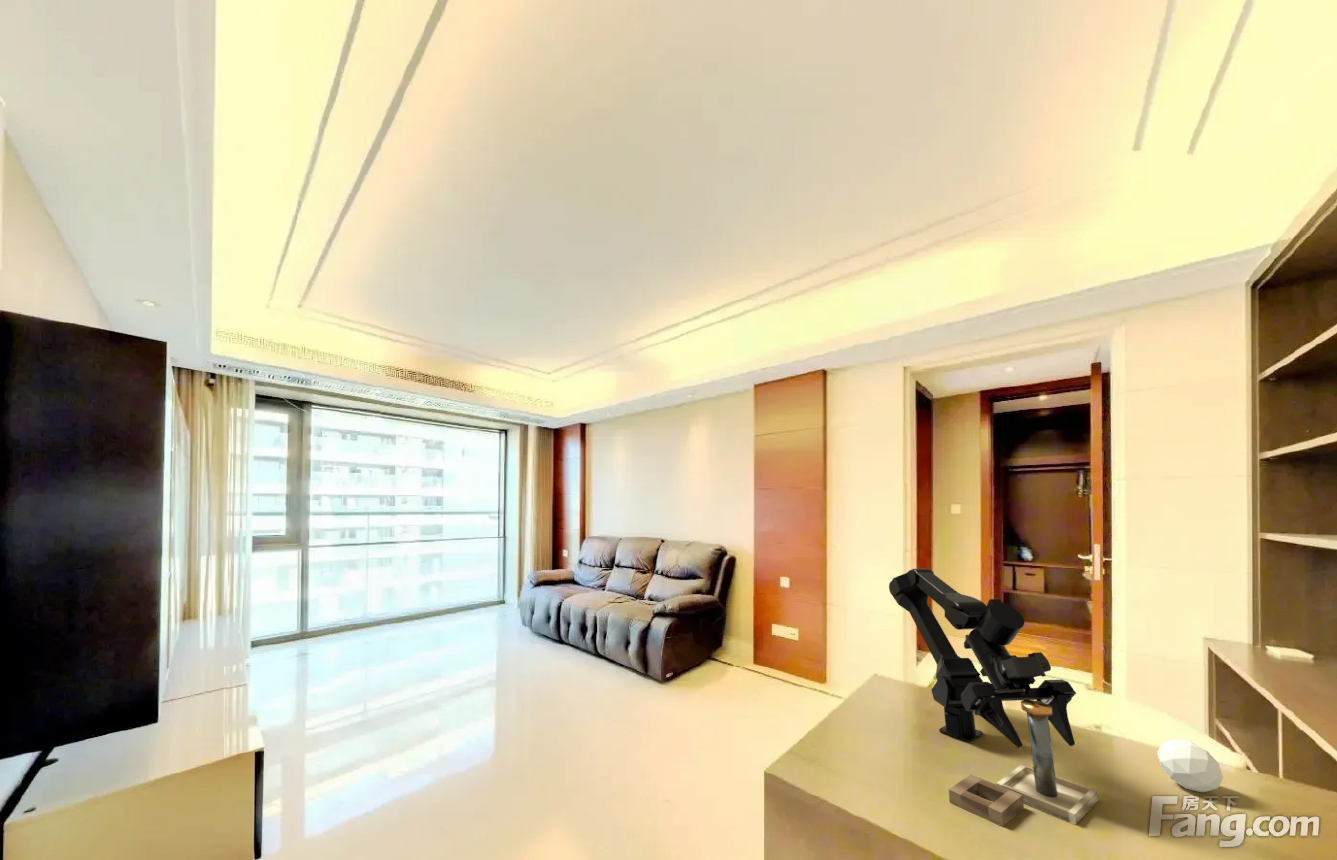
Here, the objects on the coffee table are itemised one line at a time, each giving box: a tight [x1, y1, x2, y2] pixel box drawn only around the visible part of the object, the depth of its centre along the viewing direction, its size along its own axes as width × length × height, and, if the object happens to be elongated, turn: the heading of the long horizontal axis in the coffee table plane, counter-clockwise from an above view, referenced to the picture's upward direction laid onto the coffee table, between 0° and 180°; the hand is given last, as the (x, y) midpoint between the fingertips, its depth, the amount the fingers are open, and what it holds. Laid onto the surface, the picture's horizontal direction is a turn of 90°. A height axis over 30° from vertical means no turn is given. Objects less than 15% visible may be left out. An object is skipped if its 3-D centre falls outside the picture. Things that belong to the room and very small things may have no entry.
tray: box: [996, 763, 1100, 826], centre depth 84 cm, size 11×11×2 cm
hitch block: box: [948, 774, 1025, 827], centre depth 82 cm, size 8×8×2 cm
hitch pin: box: [1020, 700, 1058, 797], centre depth 85 cm, size 4×4×14 cm
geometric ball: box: [1157, 738, 1224, 793], centre depth 86 cm, size 8×8×8 cm
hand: (1046, 746), depth 84 cm, fingers open, 9 cm apart
